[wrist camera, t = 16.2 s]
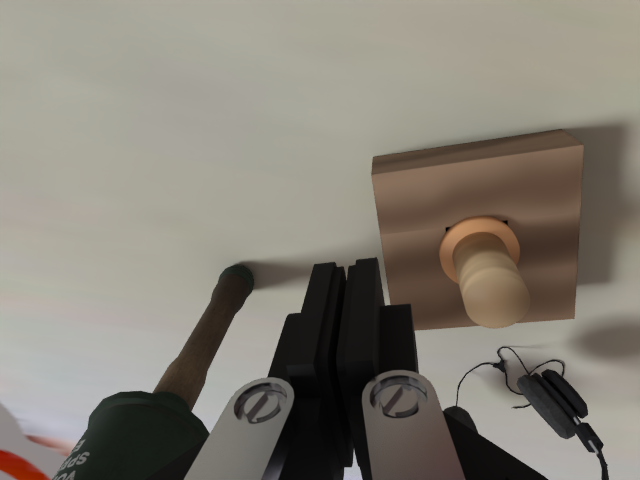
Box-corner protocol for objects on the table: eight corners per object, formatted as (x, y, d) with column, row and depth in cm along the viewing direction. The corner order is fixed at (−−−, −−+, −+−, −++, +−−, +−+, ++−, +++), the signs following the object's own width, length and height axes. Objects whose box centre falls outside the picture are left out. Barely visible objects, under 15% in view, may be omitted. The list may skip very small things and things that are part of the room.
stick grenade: (219, 227, 48) (8, 507, 21) (292, 267, 49) (180, 582, 22) (189, 285, 51) (-21, 585, 25) (258, 321, 52) (126, 645, 26)
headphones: (462, 431, 56) (497, 628, 38) (410, 370, 53) (422, 554, 35) (585, 382, 50) (692, 585, 33) (535, 311, 47) (624, 493, 30)
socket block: (372, 157, 42) (371, 174, 38) (561, 129, 39) (583, 144, 35) (393, 302, 49) (394, 331, 45) (556, 288, 46) (574, 318, 41)
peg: (431, 199, 43) (447, 268, 32) (503, 190, 42) (547, 258, 30) (436, 259, 46) (453, 342, 34) (504, 252, 44) (545, 336, 33)
